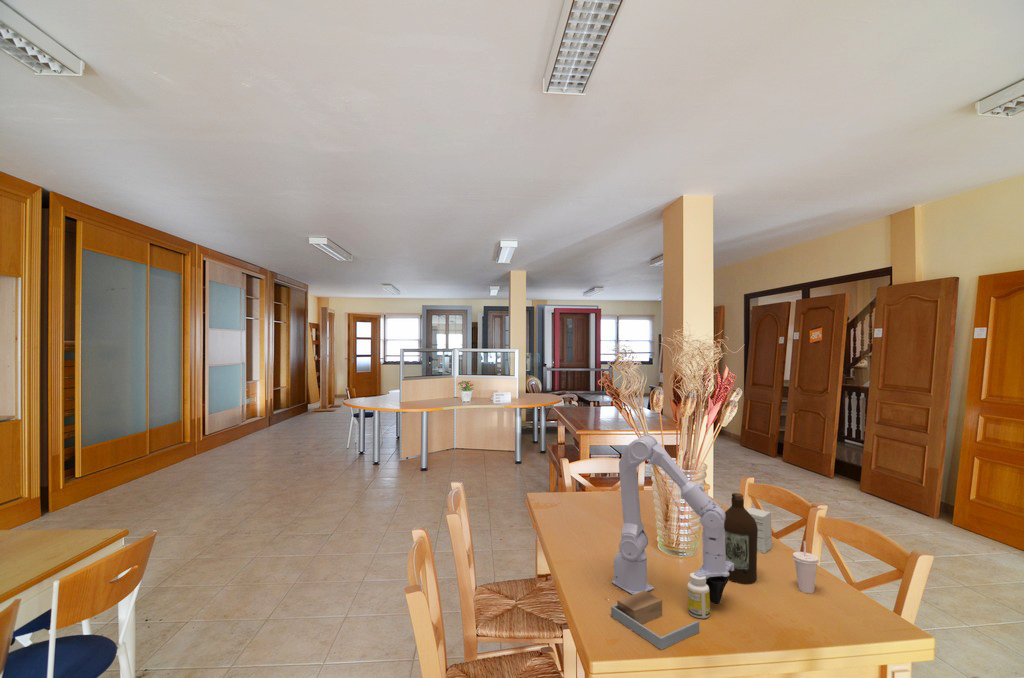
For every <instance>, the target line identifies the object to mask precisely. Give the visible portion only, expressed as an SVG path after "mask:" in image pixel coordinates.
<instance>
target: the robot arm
mask: <svg viewBox="0 0 1024 678" xmlns="http://www.w3.org/2000/svg"><path fill="white" fill-rule="evenodd" d="M648 460H649V461H648ZM646 461H648V464H649V465H653V466H656V467H660V468H661V469H662V470H663V472H664V473H666V474H667V476H668V477H669V478H670V479H671V480H672V481H673V482H674V483H675V485H677V486H678V488H679V489H680V496H681V497H682V499H683V500H684V501H685V502H686V504H688V506H689V507H690V508H691V509H692V510H693V512H695V514H696V515H697V516H699V518H700V519H699V522H700V524H701V526H702V533H701V535H702V537H701V538H702V539H701V540H702V565H701V566H700V567H699V568H698V569H697V571H695V573H694V575H695V576H697V577H700V578H701V577H705V576H706V584H707V585H708V586H709V596H710V603H712V604H714V605H716V606H718V605H720V604H721V601H722V597H723V593H724V590H725V588H726V585H727V584H728V582H729V580H728V577H727V576H729V572H728V571H729V570H730V571H733V570H734V563H732V562H730V561H726V550H725V534H724V533H725V529H724V522H725V518H726V515H725V512H726V511H725V509H724V508H723V506H722V505H720V504H718V503H717V501H716V500H713V499H712V498H711V497H710V496H709V495H708V494H707V492H706V491H705V487H704V486H703V485H702V484H699V483H698V482H696V481H692V480H690V479H689V478H688V477H687V476H686V474H685V473H684V472H683V471H682V469H680V467H679V466H678V465H677V463H676V462H675V461H674V459H673V458H672V457H671V456H670V454H669V453H668V452H667V450H666V449H665V448H664V446H663V445H662V444H661V443H658V441H657V440H656V438H655V437H654V436H652V435H649V434H644V435H641V436H640V437H639V438H637V439H634V440H633V441H632V442H630V443H629V444H627V446H626V447H625V450H624V451H623V453H622V456H621V457H620V459H619V461H618V470H619V471H618V473H619V483H620V496H621V506H622V507H621V508H622V509H621V510H622V520H623V525H622V529H621V537H620V538H621V539H620V542H619V545H618V548H619V551H618V552H616V554H615V556H614V558H613V580H612V581H611V584H613V585H615V586H617V587H619V588H620V589H622V590H623V591H625V592H627V593H629V594H630V595H633V594H636V593H639V592H642V591H644V590H645V591H647V592H649V591H652V590H654V589H655V587H654V586H652V585H651V584H649V583H648V555H647V553H646V548H647V547H648V544H649V537H648V536H647V534H646V531H645V525H644V523H643V522H642V515H641V514H642V513H641V506H640V505H641V504H640V502H641V501H640V493H639V492H640V491H639V479H638V467H639V466H640V465H641V464H642V463H644V462H646Z"/></svg>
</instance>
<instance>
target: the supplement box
mask: <svg viewBox="0 0 1024 678" xmlns="http://www.w3.org/2000/svg"><path fill="white" fill-rule="evenodd" d="M746 510H747V512H748V513H749V514H750V515H751V516H752V517H753V518H754V520H755V521H756V524H757V528H758V536H757V553H761V554H766V553H767V552H769V551H770V550H771V549H773V537H772V536H773V534H772V512H771V511H767V510H763V509H759V508H755V507H749V508H747V509H746Z"/></svg>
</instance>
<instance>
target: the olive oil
mask: <svg viewBox="0 0 1024 678" xmlns="http://www.w3.org/2000/svg"><path fill="white" fill-rule="evenodd" d="M744 500H745V499H744V495H743V494H742V493H739V492H732V493H731V505H730V506H729V508H728V509H727V510H725V511H724V512H725V515H726V518H725V522H724V529H725V533H724V534H725V550H726V561H730V562H732V563H734V570H733V571H730V570H729V571H728V572H729V576H727V577H728V581H731V582H733V583H736V582H737V584H742V585H743V584H744V585H750V584H754V583H756V582H757V578H758V576H757V575H758V572H757V571H758V567H757V566H758V565H757V563H758V552H757V536H758V528H757V524H756V521H755V520H754V518H753V517H752V516H751V515H750V514H749V513H748V512H747V509H746V508H745V507H744V502H745V501H744Z"/></svg>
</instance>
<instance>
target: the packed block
mask: <svg viewBox="0 0 1024 678" xmlns="http://www.w3.org/2000/svg"><path fill="white" fill-rule="evenodd" d="M617 609H618V610H620V611H621V612H623V613H624V614H626V615H627V616H629V617H631V618H632V619H634V620H635V621H637V622H638V623H640V624H641V625H643V624H646V623H649V622H651V621H654V620H656V619H658V618H660V617H662V616H663V600H662V599H661V598H659V597H658V596H656V595H654V594H652V593H650V592H649V591H645V590H644V591H642V592H639V593H636V594H633V595H632V594H630V595H628V596H626V597H623V598H620V599H617Z"/></svg>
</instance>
